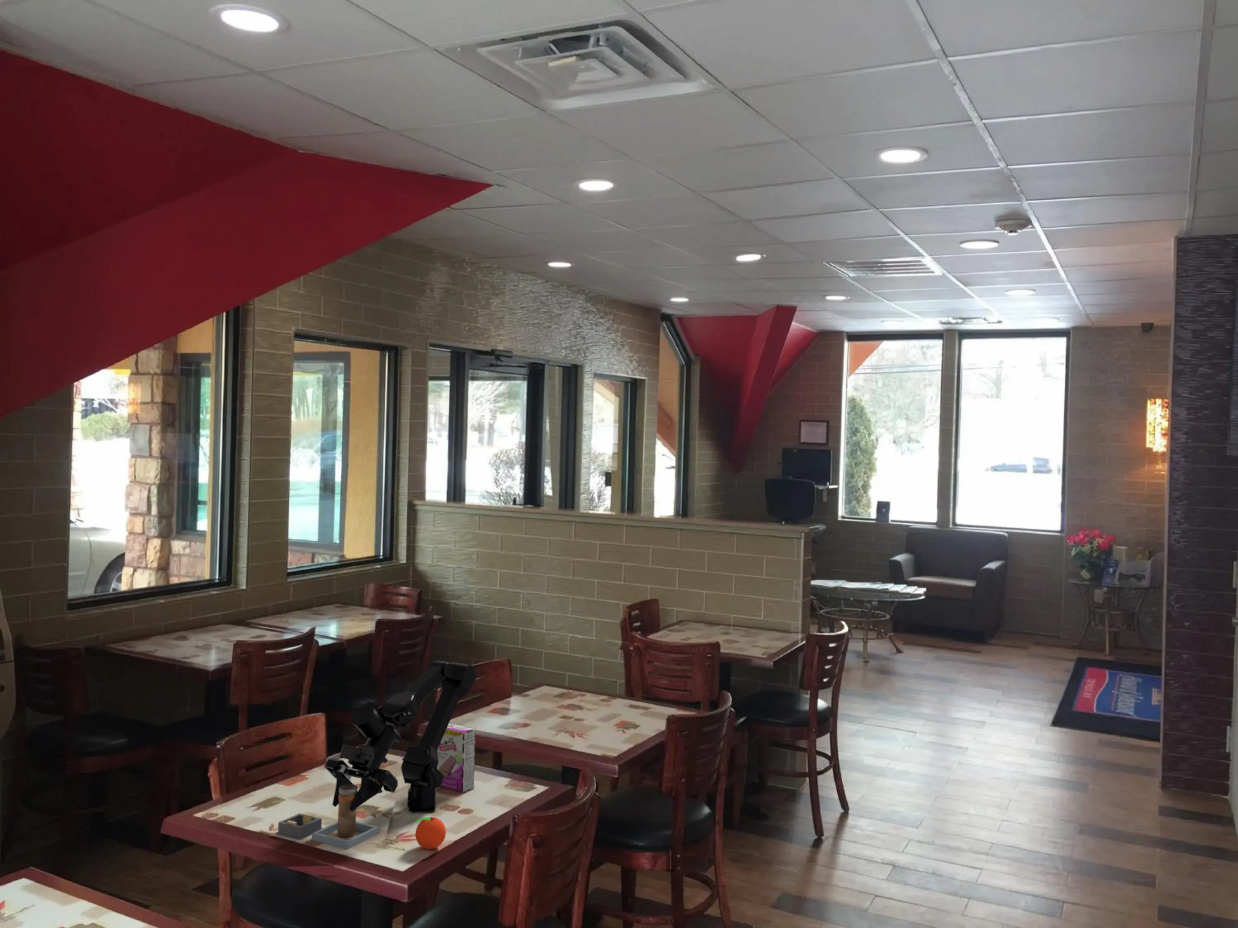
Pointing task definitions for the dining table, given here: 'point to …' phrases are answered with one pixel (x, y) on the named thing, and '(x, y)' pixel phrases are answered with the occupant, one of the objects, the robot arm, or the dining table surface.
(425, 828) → the clementine
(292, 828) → the socket block
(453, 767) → the candy bar box
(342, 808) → the peg
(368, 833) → the tray
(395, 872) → the dining table surface
